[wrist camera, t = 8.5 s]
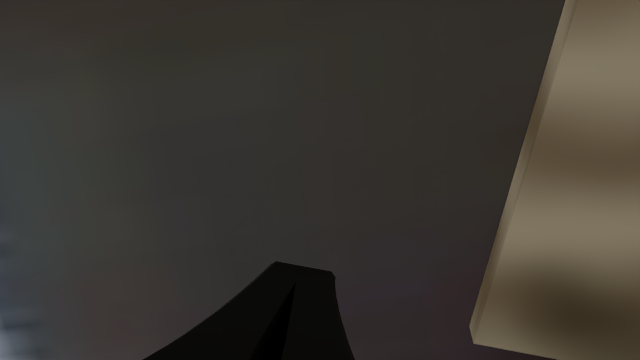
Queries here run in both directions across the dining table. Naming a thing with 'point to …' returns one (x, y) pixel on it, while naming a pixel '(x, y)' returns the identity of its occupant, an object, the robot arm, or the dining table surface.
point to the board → (574, 201)
